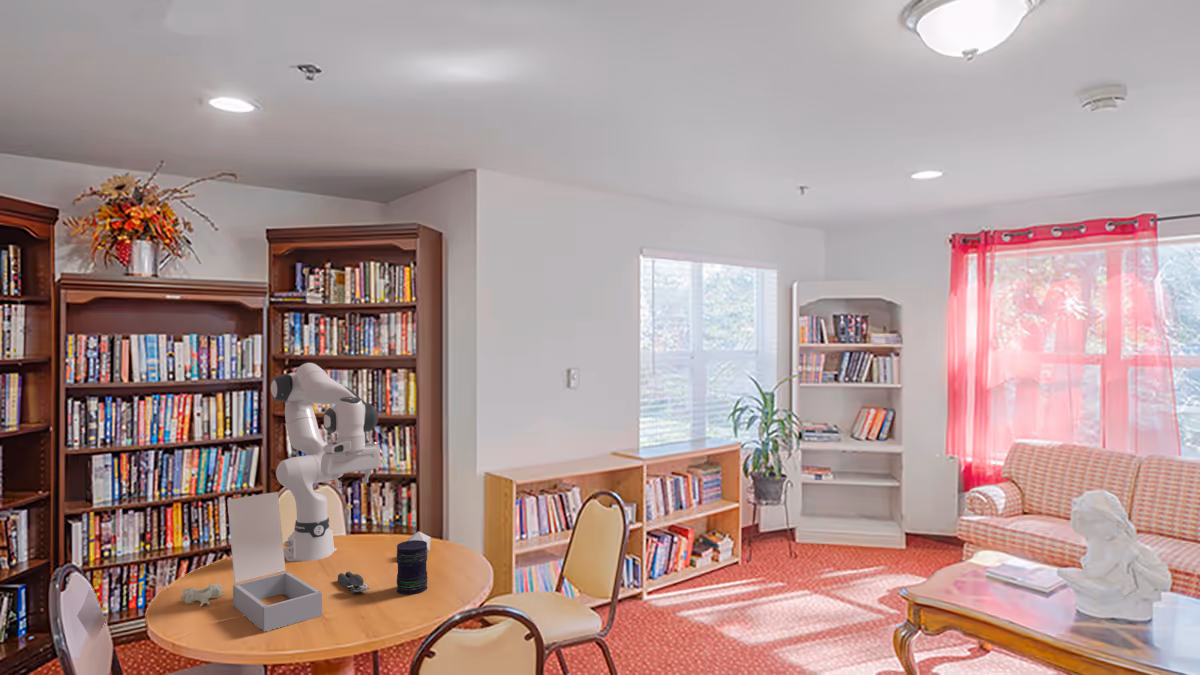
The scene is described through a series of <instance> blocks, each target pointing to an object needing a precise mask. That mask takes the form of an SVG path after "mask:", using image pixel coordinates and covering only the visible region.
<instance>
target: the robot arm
mask: <svg viewBox="0 0 1200 675" xmlns="http://www.w3.org/2000/svg"><path fill="white" fill-rule="evenodd" d="M270 393H271V396H272V398H273V399H274V400H275V401H277V402H281V403H286V404H285V407H284V417H285V418H284V420H285V426H286V431H287V434H288V440H289V444H290V445H291V446H292V448H293V449H295V450H298V451H300V452H302V453H304V454H305V455H301V456H293V457H290V458H286V459H283V460H281V461H280V462H279V463H278V465H277V467H276V470H275V476H276V479H277V481H278V483H279V484H280V485H282V486H283V487H285V488H286V489H288V490H289V491H290V493H291V494H292V496H293V497H294V500H295V509H296V520H295V524H294V528H293V529H294V531H293V532H292V533H291V534H290V535H289V536H288V537H287V540H285V541H284V546H285V548H283V550H284V559H286V561H287V562H312V561H317V560H321V559H322V560H323V559H326V558H327V557H328V558H329V557H330V556H332V554H333V553H334V552H335V551H338V548H337V547H335V546H334V536H333V530H331V529H330V517H329V512H328V511H329V510H328V509H329V503H328V502H329V500H328V498H327V497H326V496H327V495H325V494H323V493H321V492H319V491H317V490H316V491H315V489H314V487H313V486H314V484H319V483H325V482H331V481H334V483H335V488H338V489H339V488H342V487H343V481H340V480H339V478H341V477H343V475H344V474H348V473H356V472H361V471H364V473H365V475H364V477H362V478H361V483H362V484H367V483H368V484H369V477H370V476H371V474H372V470H376V469H380V467H381V466H382V459H381V458H382V457H381V453H380V451H381V445H380V444H379V443H378V442H376V441H371V442H366V437H365V436H366V434H365V432H366V433H367V432H371V431H372V430H373V429H374V428H375V427H376V426H377V424H378V422H379V413H378V411H377V409H376V408H375V407H374V406H373V405H372V404H371V403H368V402H366V401H364V400H363V399H362V398H361V397H360V396H358V394H356V393H355V392H354V391H353V390H352V389H350V388H349V387H347V386H345V385H343V384H341V383H339V382H338V381H336V380H334V379H333V378H332V377H330V376H329V375H328V373H327V372H326V371H325V370H324V369H322V368H321V367H320V366H319V365H317V364H316V363H314V362H305V363H303V364H301V365H300V366H299V367H298V368H297V369H296V371H295V373H290V374H289V373H287V374H286V373H285V374H284V373H283V374H280V375H277V376H275V377H274V378H273V379H272V381H271V384H270ZM314 404H317V405H319V404H320V405H333V406H332V407H329V408H328V409H326V410H325V412H324V414H323V416H322V423H323V428H324V430H325V431H326V432H328V433H329V434H333V435H336V434H337V439H336V440H335V441H332V442H329V443H328V444H327V443H326V442H325V441H324V439H323V438H322V436H321V431H320V429H319V425H318V421H317V417H316V415H315V411H314Z"/></svg>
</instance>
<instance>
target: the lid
mask: <svg viewBox="0 0 1200 675" xmlns="http://www.w3.org/2000/svg"><path fill="white" fill-rule="evenodd" d="M279 500H280V499H279V492H278V491H275V492H274V491H273V492H267V493H262V494H256V495H248V496H243V497H242V496H241V497H236V498H230V499H227V500H226V501H227V511H228V524H229V535H230V546H231V548H230V549H231V558H232V560H231V561H232V570H233V572H232V573H233V582H234V583H235V584H237V583H241V582H245V581H247V580H248V581H249V580H253V579H257V578H262V577H266V576H270V575H274V574H278V573H279V572H281V573H282V572H286V563H285V562H286V561H285V557H284V550H283V549H284V540H283V532H282V520H281V509H280V501H279Z"/></svg>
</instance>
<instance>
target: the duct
mask: <svg viewBox="0 0 1200 675" xmlns="http://www.w3.org/2000/svg"><path fill="white" fill-rule="evenodd" d="M232 594H233V595H232V597H233V598H232V601H233V602H232V605H233V607H234V608H236V609H237V611H239V612H241V613H242V615H245V616H246V617H247V618H248V619H250V620H251V621H252V622H253V623H254V624H256V625H257V626H258V627H259V628H260V629H262V630H263V631H264V632H265V631H269V630H272V629H275V630H277V629H276V628H279V629H281V628H280V627H282V628H284V627H283V626H285V627H288V626H287V625H289V626H292V625H295V624H298V622H299V623H302V622H305V621H308V620H312V619H314V618H315V617H316V618H320V617H322V616H323V608H322V607H323V604H322V603H323V596H322V595H323V594H322V591H320V590H319V589H317V588H315V587H313V586H312V585H310V584H309V583H307V582H305V581H304V580H303V579H300V578H299V577H297V576H295V574H292V573H290V572H289V571H283V572H281V573H274V574H270V575H266V576H262V577H258V578H254V579H250V580H248V581H247V580H246V581H241V582H237V583H235V584H233V585H232ZM279 595H282V596H286V597H288V598H289V599H287V600H284V601H280V602H276V603H272V604H268V605H267V604H265V603H264V602H263V601H261V600H263V599H268V598H271V597H274V596H279ZM246 617H245V618H246ZM247 618H246V619H247ZM248 619H247V620H248ZM304 620H305V621H304ZM251 621H250V622H251ZM301 621H302V622H301ZM252 622H251V623H252ZM253 623H252V624H253ZM294 623H295V624H294ZM254 624H253V625H254ZM291 624H292V625H291ZM256 625H255V626H256ZM257 626H256V627H257ZM258 627H257V628H258ZM259 628H258V629H259ZM260 629H259V630H260ZM262 630H261V631H262ZM263 631H262V632H263ZM272 631H273V630H272ZM264 632H263V633H264ZM269 632H270V631H269ZM265 633H266V632H265Z"/></svg>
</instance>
